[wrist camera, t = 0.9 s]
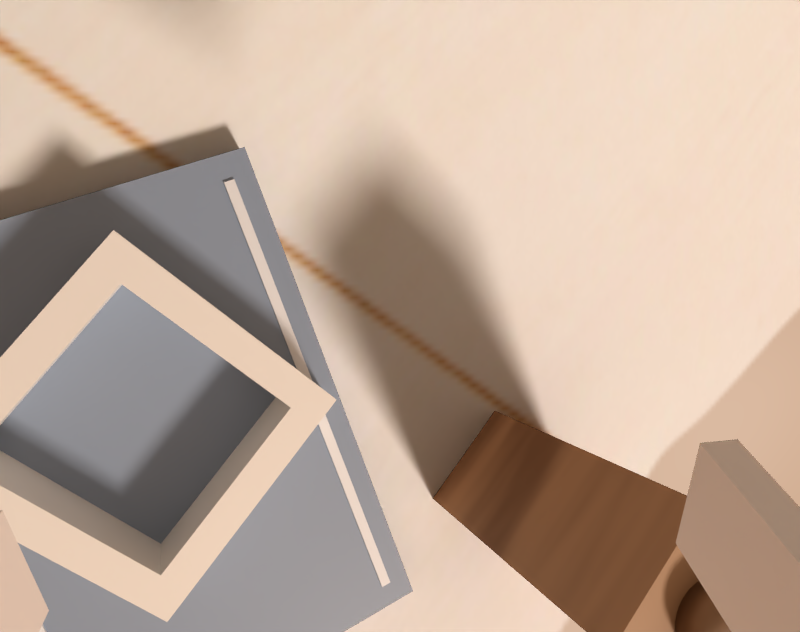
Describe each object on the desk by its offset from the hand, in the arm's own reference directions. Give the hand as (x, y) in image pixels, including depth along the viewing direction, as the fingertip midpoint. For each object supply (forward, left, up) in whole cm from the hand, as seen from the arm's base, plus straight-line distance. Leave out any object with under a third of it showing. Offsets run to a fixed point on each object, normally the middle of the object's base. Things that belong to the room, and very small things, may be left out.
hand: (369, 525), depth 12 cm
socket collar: (-1, -4, -14) cm, 15 cm away
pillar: (+9, +9, -14) cm, 19 cm away
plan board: (+1, -4, -14) cm, 15 cm away
